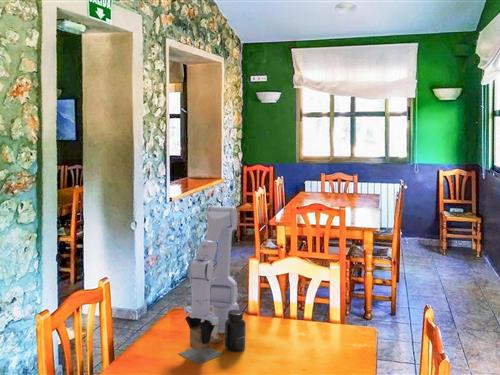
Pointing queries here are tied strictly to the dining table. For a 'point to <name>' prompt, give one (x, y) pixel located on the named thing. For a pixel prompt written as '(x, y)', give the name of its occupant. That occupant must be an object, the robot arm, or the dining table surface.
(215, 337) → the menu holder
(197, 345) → the walnut block
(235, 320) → the supplement bottle
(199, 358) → the coaster
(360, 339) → the dining table surface
